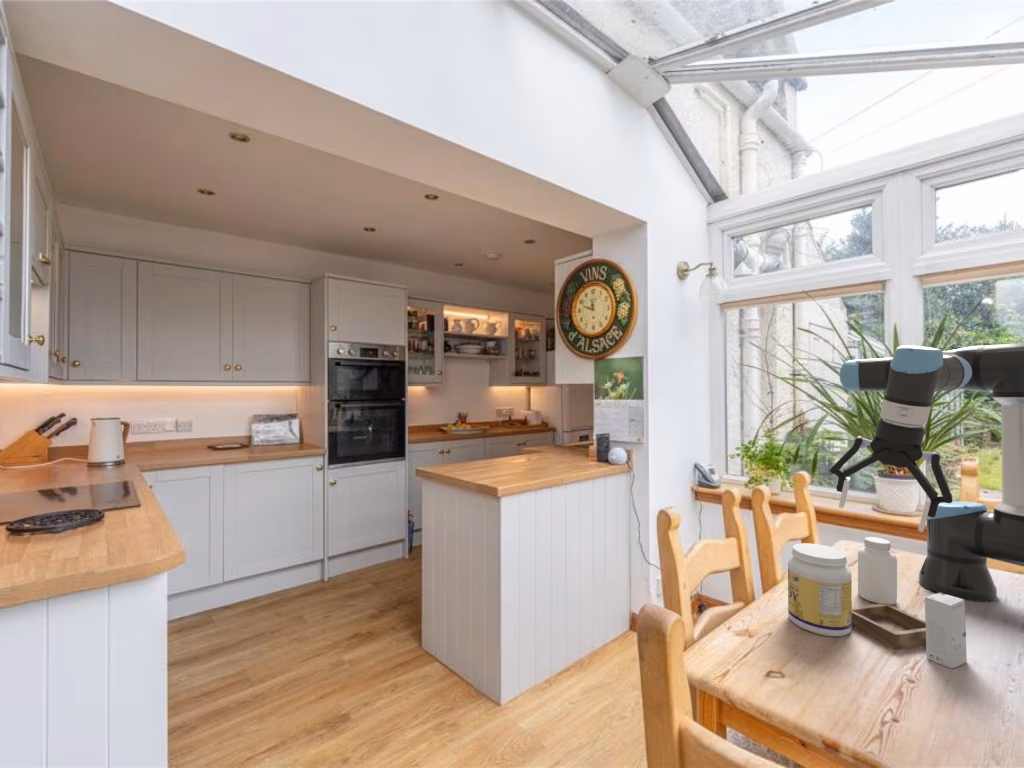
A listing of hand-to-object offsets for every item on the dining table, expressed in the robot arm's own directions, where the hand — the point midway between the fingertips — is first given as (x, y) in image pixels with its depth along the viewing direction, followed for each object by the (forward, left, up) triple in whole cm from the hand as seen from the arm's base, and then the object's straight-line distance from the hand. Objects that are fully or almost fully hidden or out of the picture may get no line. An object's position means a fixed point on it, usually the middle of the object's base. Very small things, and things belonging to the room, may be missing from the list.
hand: (879, 517), depth 101 cm
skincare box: (-6, +9, -26) cm, 28 cm away
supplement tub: (+7, -9, -26) cm, 29 cm away
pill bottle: (-19, -16, -26) cm, 36 cm away
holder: (-6, -2, -26) cm, 27 cm away
